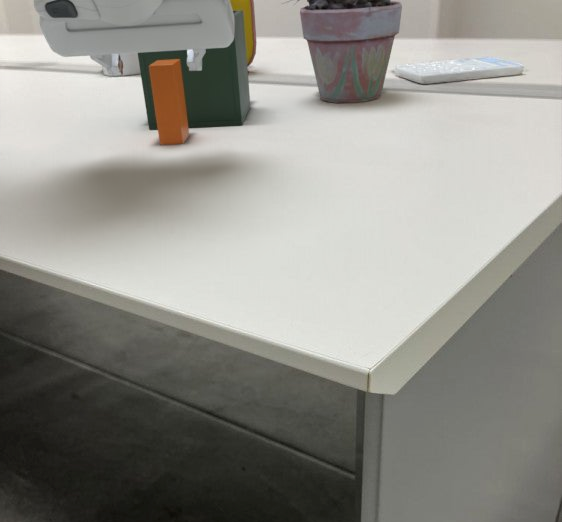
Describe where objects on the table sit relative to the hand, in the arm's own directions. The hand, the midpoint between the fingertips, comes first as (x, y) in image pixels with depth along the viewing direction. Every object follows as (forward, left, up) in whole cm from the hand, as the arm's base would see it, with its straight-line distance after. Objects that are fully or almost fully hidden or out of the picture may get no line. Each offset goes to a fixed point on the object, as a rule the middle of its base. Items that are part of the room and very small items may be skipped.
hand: (156, 68), depth 80 cm
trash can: (+1, +22, -10) cm, 25 cm away
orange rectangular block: (0, +5, -10) cm, 11 cm away
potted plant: (+23, +33, -10) cm, 42 cm away
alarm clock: (-4, +69, -10) cm, 70 cm away
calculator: (+44, +50, -10) cm, 68 cm away
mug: (-24, +78, -10) cm, 83 cm away
